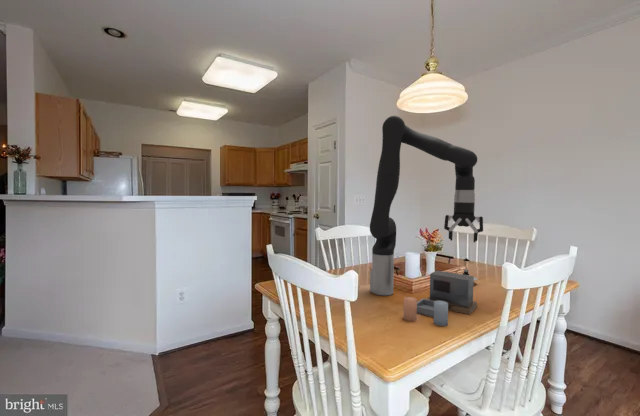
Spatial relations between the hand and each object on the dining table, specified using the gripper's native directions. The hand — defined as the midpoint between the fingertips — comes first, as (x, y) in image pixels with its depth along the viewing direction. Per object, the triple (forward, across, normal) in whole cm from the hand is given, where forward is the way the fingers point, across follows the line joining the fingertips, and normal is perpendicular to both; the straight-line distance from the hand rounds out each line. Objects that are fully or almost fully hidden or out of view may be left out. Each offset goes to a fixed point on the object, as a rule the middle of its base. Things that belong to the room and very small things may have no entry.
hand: (462, 241), depth 125 cm
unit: (+24, -3, -9) cm, 26 cm away
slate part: (+24, -5, -28) cm, 38 cm away
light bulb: (+24, +2, +27) cm, 36 cm away
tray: (+24, -10, -19) cm, 32 cm away
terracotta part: (+24, -15, -29) cm, 41 cm away
